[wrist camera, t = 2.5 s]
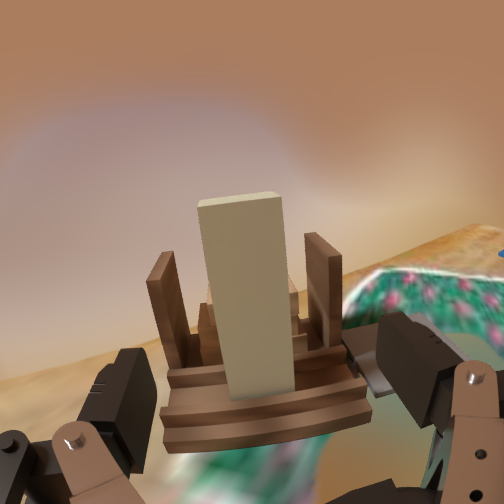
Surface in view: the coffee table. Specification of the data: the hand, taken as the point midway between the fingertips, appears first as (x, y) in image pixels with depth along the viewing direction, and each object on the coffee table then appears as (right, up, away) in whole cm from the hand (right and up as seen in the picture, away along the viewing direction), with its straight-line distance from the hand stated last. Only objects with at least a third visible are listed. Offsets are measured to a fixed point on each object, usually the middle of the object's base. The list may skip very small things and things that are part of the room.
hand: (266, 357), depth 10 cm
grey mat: (+15, -7, +20) cm, 26 cm away
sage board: (0, -8, +15) cm, 17 cm away
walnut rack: (0, -9, +19) cm, 21 cm away
